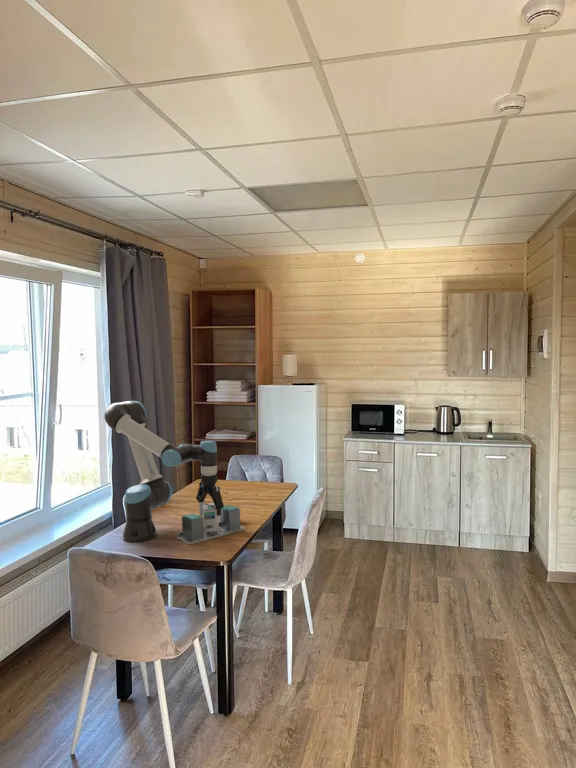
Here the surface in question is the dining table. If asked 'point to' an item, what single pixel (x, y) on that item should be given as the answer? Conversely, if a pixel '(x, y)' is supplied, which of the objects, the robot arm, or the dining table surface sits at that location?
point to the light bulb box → (210, 517)
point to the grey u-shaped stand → (196, 531)
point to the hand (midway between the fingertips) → (209, 519)
